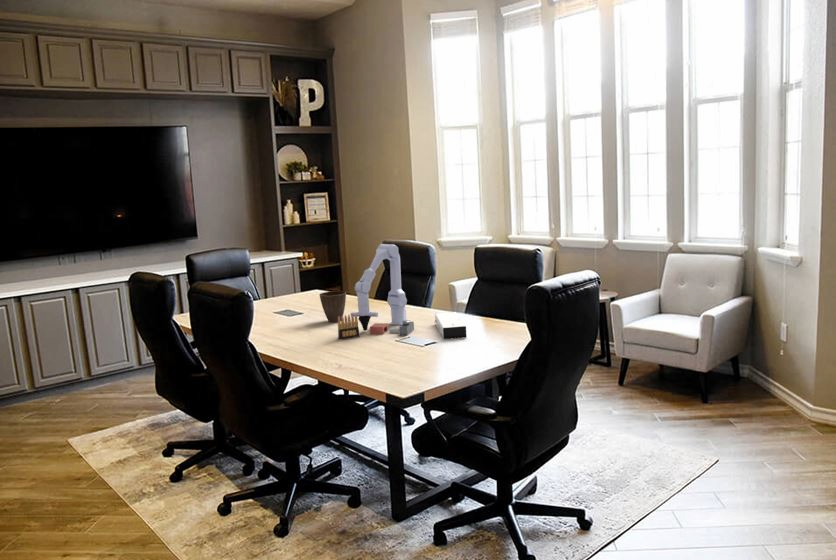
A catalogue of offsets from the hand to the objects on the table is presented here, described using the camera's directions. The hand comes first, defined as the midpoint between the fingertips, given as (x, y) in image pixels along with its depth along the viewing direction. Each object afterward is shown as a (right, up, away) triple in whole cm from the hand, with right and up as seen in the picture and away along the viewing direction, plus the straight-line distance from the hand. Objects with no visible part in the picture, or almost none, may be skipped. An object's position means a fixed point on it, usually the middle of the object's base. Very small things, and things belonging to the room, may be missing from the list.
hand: (365, 330), depth 354 cm
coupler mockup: (+18, -1, -5) cm, 19 cm away
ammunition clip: (-7, -3, -10) cm, 13 cm away
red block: (+7, -1, -2) cm, 8 cm away
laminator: (+43, 0, -7) cm, 44 cm away
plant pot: (-20, +3, +31) cm, 36 cm away
